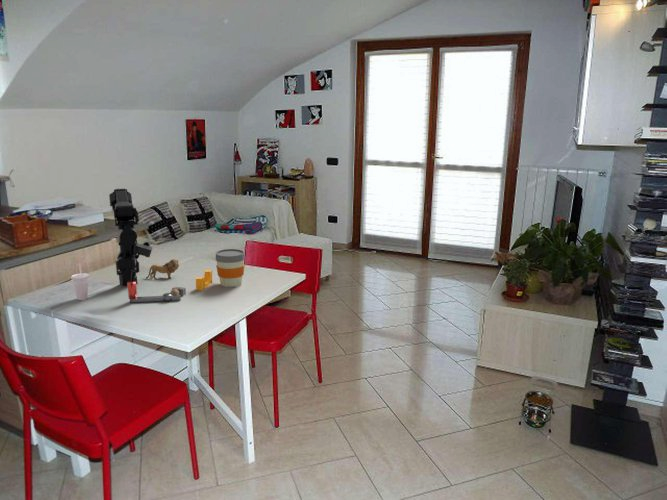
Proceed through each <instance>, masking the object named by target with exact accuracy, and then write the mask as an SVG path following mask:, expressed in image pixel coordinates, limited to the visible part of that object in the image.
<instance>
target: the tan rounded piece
mask: <svg viewBox="0 0 667 500" xmlns="http://www.w3.org/2000/svg"><path fill="white" fill-rule="evenodd" d="M169 293H172V294H173V295H179V291H178V290H177V289H173V290H172V289H171V290H170V292H169Z"/></svg>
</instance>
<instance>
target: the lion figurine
mask: <svg viewBox="0 0 667 500" xmlns="http://www.w3.org/2000/svg"><path fill="white" fill-rule="evenodd" d="M179 267H180V264H179V260H178V259H176V258H172V259H170V261H167V262H166V263H164V264H163V265H160V264H153V265H151V266H150V267H149V270H148V275H147V276H146V277H145V279H146V280H147V279H148V278H150V279H154V281H156V280H158V278H156V275H157V272H158V273H160V274H167V278H168V280H170V279H171V280H172V276H171V274H173V273H175V272H176V271H177V270H178V269H179Z"/></svg>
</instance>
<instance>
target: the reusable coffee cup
mask: <svg viewBox="0 0 667 500" xmlns="http://www.w3.org/2000/svg"><path fill="white" fill-rule="evenodd" d="M245 255H246V254H245V251H244V250H242V249H240V248H239V249H238V248H237V249H236V248H225V249H220V250H217V251H216V252H215V262H216V271H217V276H218V277H219V284H220V286H222V287H226V288H230V287H231V288H234V287H239V288H240V287H242V284H243V277H244V274H245V266H246V265H245V260H246V257H245Z"/></svg>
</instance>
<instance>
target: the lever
mask: <svg viewBox="0 0 667 500" xmlns="http://www.w3.org/2000/svg"><path fill="white" fill-rule="evenodd" d="M126 287H127V294H128V300H129V303H130V304H131V303H147V302H148V303H149V302H151V303H152V302H165V303H171V302H179V301H181V300H182V296H181V295H173V294H172V293H170V292H166V293H163V294H162V295H149V296H148V295H147V296H138V291H137V289H138V288H137V284H136V281H131V282H127V286H126Z"/></svg>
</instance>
